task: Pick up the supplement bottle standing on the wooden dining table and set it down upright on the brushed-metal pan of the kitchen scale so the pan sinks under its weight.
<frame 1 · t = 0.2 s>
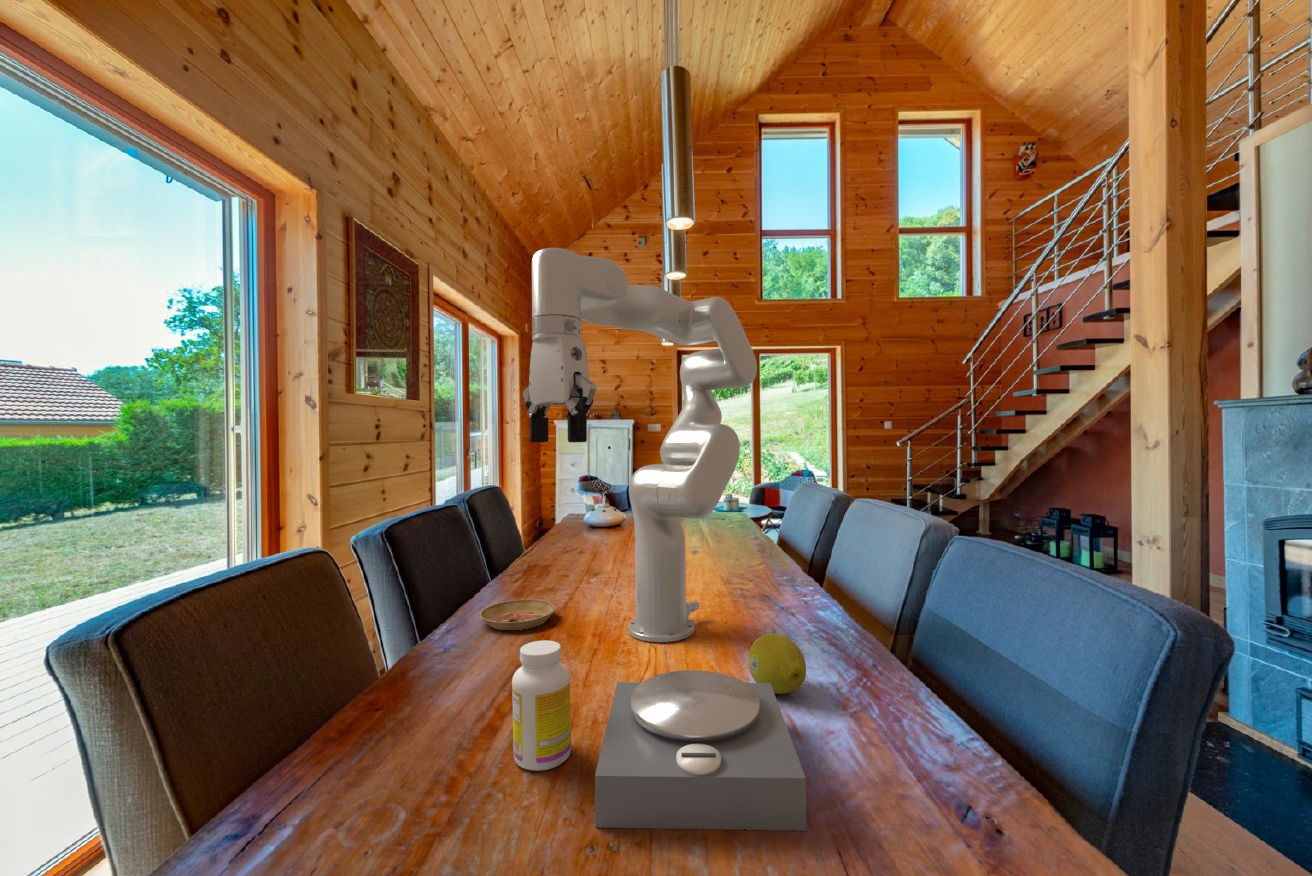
hand: (557, 442, 87), 36 cm above the table, tool pointing down, fingers open, 9 cm apart
lemon: (777, 693, 81), on the table
kitchen scale: (696, 766, 63), on the table
scale pan: (694, 701, 66), point 6 cm above the table, slide at -0.4 cm
supplement bottle: (542, 758, 66), on the table
plant saucer: (518, 623, 113), on the table
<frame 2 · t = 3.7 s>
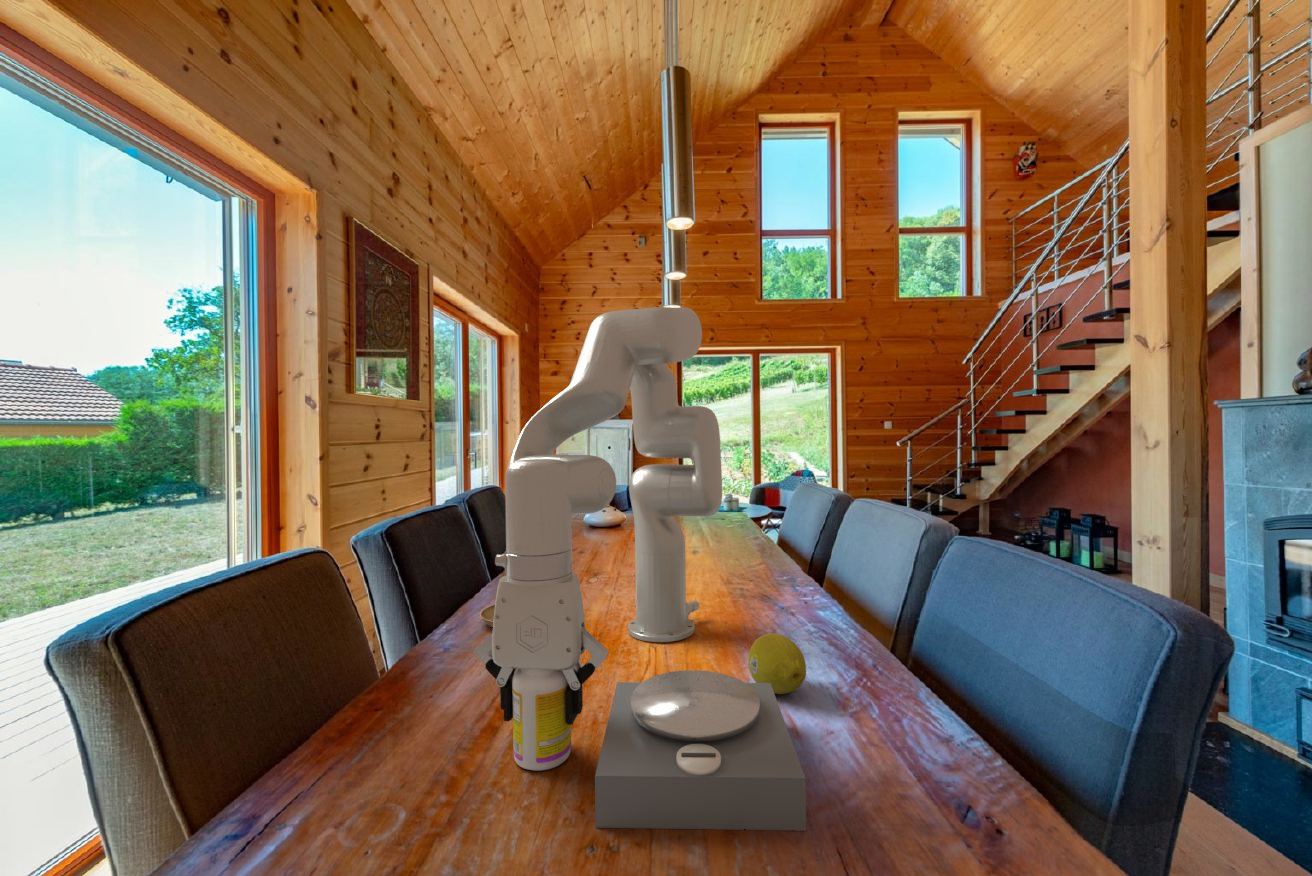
hand: (541, 716, 65), 5 cm above the table, tool pointing down, fingers closed on supplement bottle, 6 cm apart
supplement bottle: (542, 758, 66), on the table, touching gripper
everything else where it was.
when the fingers open (13 cm above the table, at t = 9.8 s): supplement bottle drops 2 cm, resting on scale pan.
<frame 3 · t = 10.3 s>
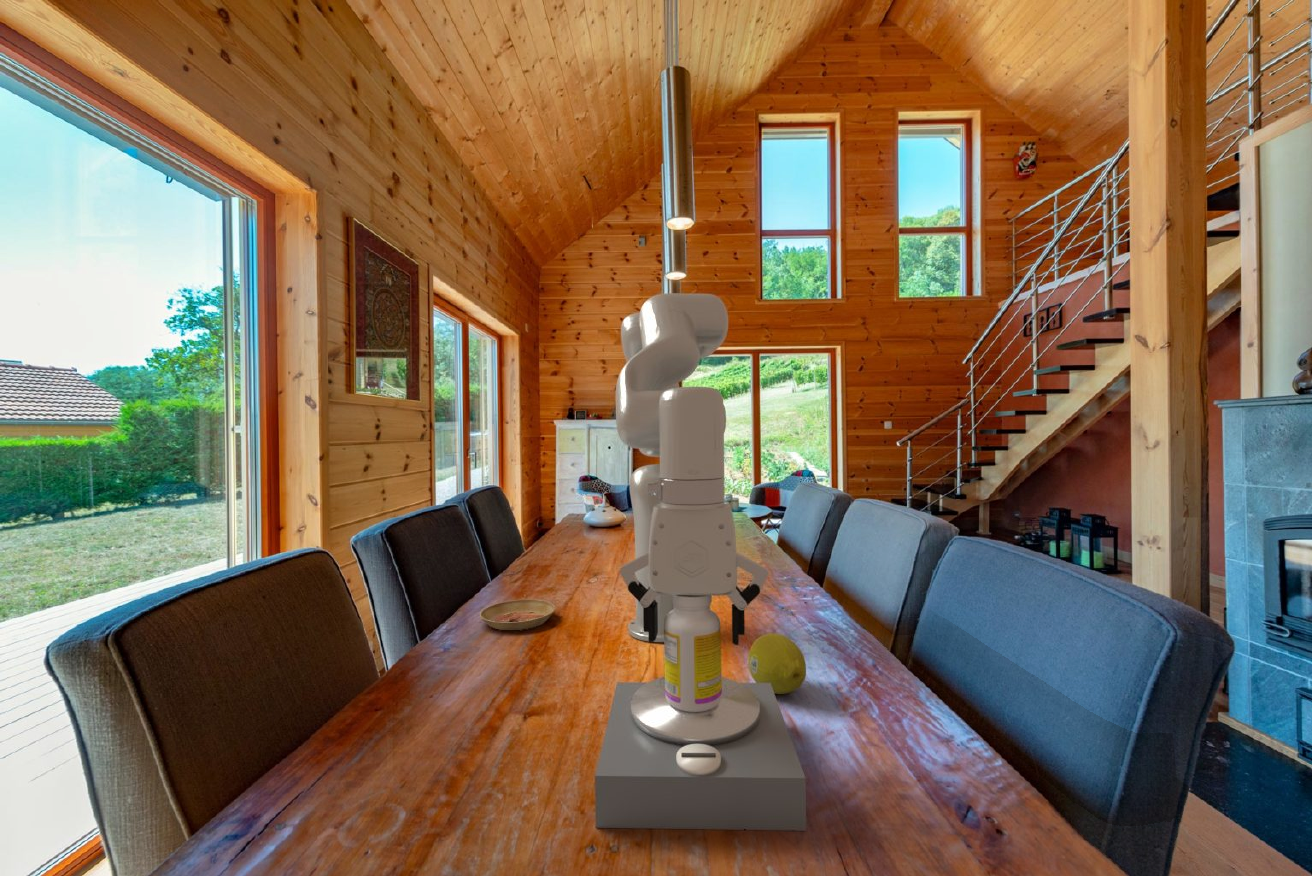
hand: (694, 639, 66), 14 cm above the table, tool pointing down, fingers open, 9 cm apart
scale pan: (694, 705, 66), point 6 cm above the table, slide at -0.8 cm, touching supplement bottle
supplement bottle: (693, 702, 66), point 6 cm above the table, touching scale pan
everything else where it was.
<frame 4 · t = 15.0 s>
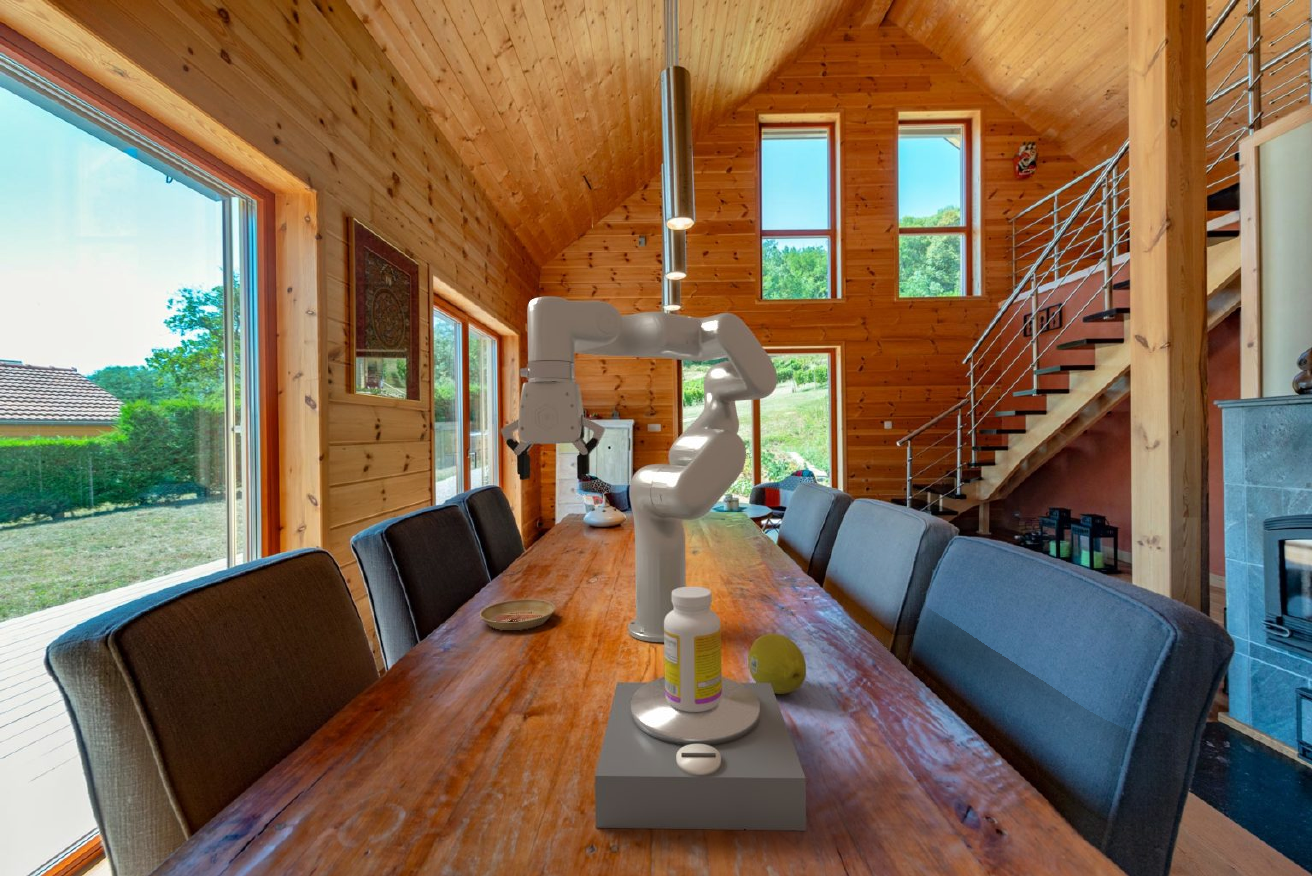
hand: (553, 479, 92), 30 cm above the table, tool pointing down, fingers open, 9 cm apart
nothing on the table moved.
at the end: supplement bottle inside the target area on the scale pan (0.2 cm from its centre), point 6.8 cm above the scale pan's base; supplement bottle touching scale pan; supplement bottle tilted 0° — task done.
